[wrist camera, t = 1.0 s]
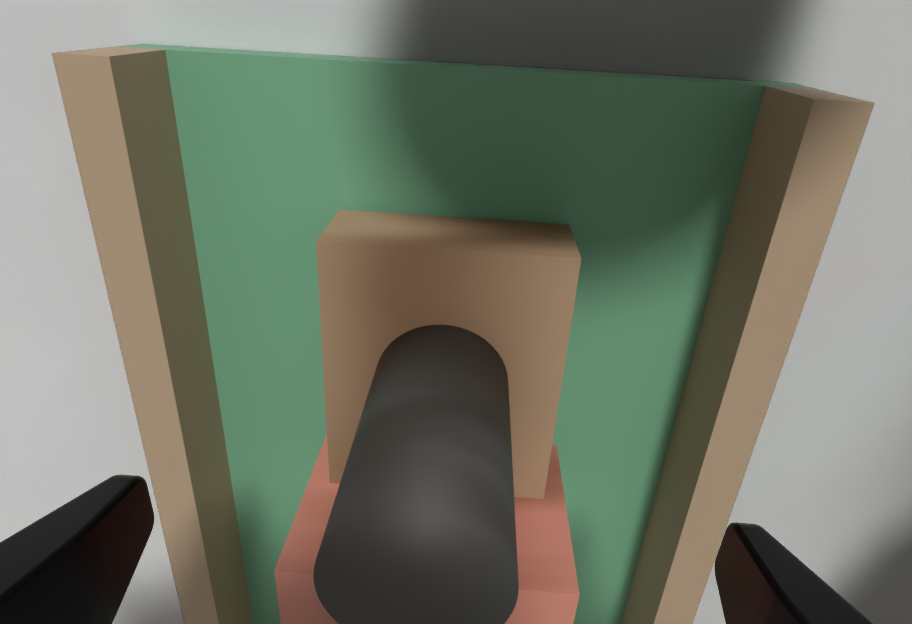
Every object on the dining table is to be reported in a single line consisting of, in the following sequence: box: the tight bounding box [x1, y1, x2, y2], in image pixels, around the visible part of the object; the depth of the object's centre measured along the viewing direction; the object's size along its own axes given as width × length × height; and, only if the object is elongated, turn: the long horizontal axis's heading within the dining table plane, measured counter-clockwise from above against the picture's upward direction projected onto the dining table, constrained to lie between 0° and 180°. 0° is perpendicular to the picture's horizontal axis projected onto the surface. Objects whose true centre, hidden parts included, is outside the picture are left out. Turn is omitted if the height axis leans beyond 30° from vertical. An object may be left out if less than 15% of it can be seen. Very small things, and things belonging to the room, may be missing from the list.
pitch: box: [52, 44, 874, 624], centre depth 17 cm, size 14×27×5 cm, turn 177°
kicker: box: [274, 209, 581, 624], centre depth 12 cm, size 6×8×7 cm
